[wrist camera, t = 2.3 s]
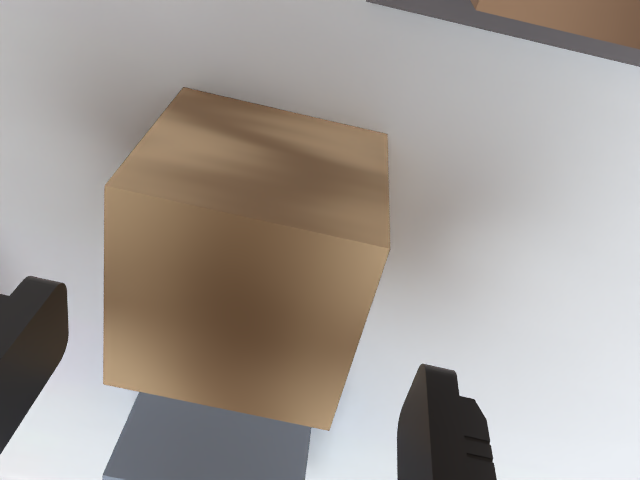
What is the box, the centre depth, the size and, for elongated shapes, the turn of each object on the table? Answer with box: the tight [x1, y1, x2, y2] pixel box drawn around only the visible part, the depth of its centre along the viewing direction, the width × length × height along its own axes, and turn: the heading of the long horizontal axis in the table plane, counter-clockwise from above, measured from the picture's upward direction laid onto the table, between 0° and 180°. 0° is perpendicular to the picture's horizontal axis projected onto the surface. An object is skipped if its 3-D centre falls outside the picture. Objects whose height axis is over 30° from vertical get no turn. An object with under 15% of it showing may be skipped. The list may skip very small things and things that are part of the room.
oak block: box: [103, 87, 390, 431], centre depth 17 cm, size 6×6×6 cm
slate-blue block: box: [103, 392, 311, 480], centre depth 22 cm, size 6×6×6 cm
